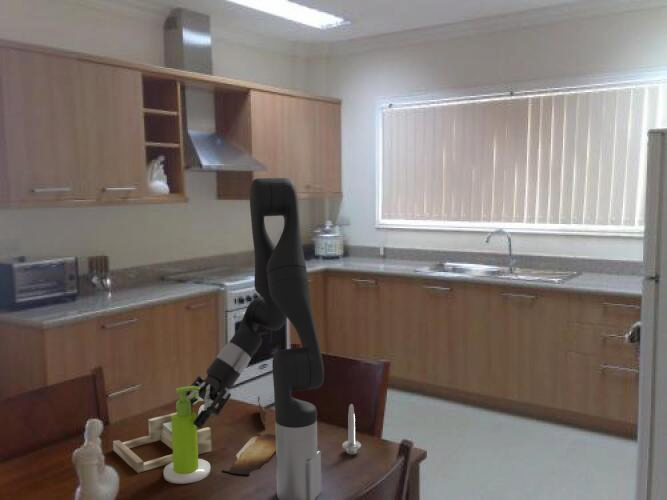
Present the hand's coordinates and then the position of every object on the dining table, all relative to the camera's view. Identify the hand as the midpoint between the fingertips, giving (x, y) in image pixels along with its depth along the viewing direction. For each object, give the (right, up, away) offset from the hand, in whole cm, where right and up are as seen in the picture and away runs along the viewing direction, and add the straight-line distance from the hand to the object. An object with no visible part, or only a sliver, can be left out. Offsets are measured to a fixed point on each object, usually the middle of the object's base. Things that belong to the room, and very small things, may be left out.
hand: (188, 420), depth 148 cm
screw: (+40, -12, +12) cm, 43 cm away
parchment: (+15, -12, +12) cm, 22 cm away
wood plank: (+14, -10, +35) cm, 39 cm away
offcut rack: (-11, -12, +13) cm, 21 cm away
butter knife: (-5, -10, +35) cm, 37 cm away
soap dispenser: (0, -12, +1) cm, 12 cm away
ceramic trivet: (0, -13, +1) cm, 13 cm away
